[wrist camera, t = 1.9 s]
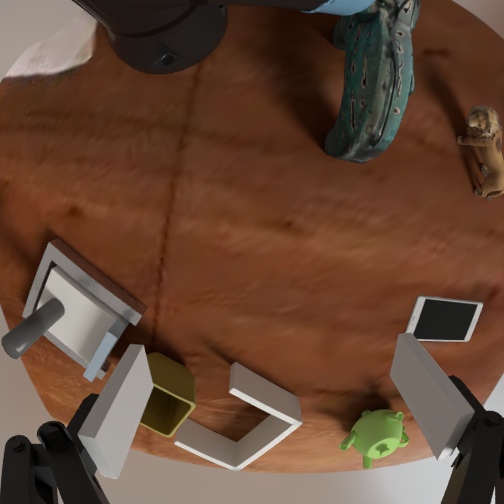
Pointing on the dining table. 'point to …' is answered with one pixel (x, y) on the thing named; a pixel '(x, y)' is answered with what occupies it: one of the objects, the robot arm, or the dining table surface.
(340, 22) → the teal arched figure
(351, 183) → the dining table surface
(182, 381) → the flower pot
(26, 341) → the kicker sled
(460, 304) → the smartphone
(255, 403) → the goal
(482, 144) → the lion figurine
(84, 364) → the rail base
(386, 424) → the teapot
